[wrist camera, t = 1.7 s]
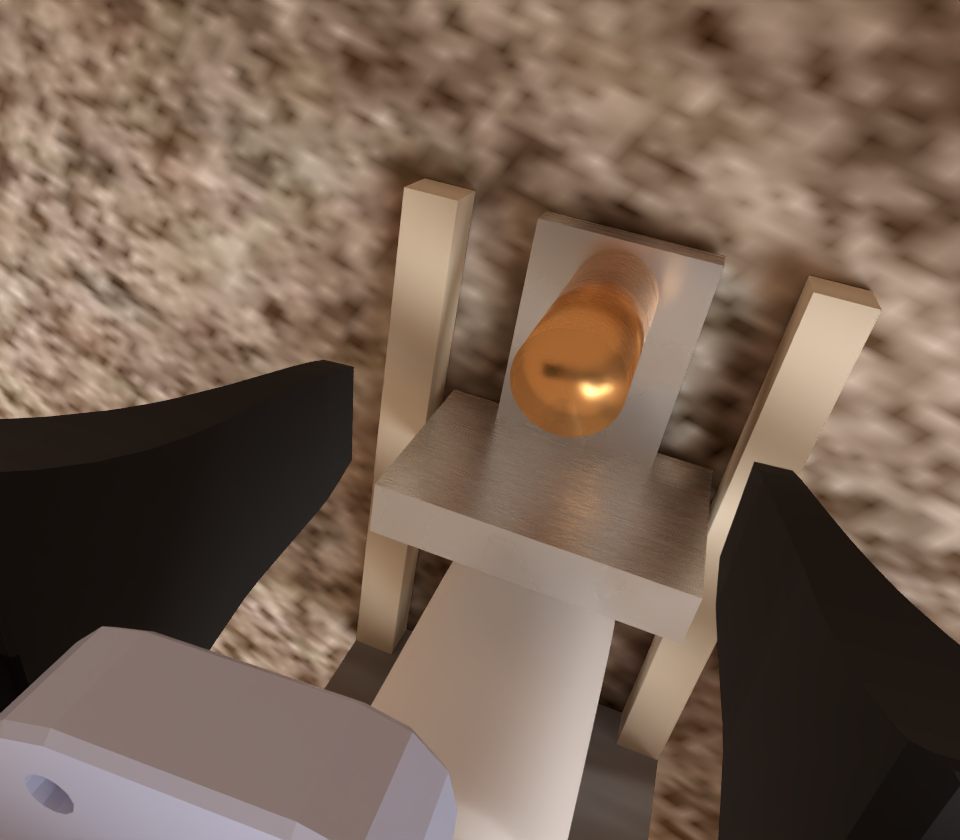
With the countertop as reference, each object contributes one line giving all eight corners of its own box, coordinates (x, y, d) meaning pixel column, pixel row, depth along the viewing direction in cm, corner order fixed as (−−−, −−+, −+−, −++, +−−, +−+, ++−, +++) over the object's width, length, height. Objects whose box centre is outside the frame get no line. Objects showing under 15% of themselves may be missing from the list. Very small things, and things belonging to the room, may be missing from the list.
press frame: (425, 178, 21) (298, 231, 15) (871, 291, 18) (932, 409, 12) (369, 640, 31) (281, 780, 25) (649, 752, 28) (625, 935, 23)
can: (421, 556, 28) (236, 849, 18) (553, 496, 24) (418, 815, 14) (515, 673, 29) (393, 1008, 19) (652, 631, 26) (593, 1010, 16)
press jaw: (486, 195, 20) (380, 258, 14) (793, 273, 18) (816, 381, 13) (447, 429, 24) (352, 552, 18) (695, 510, 22) (678, 674, 17)
